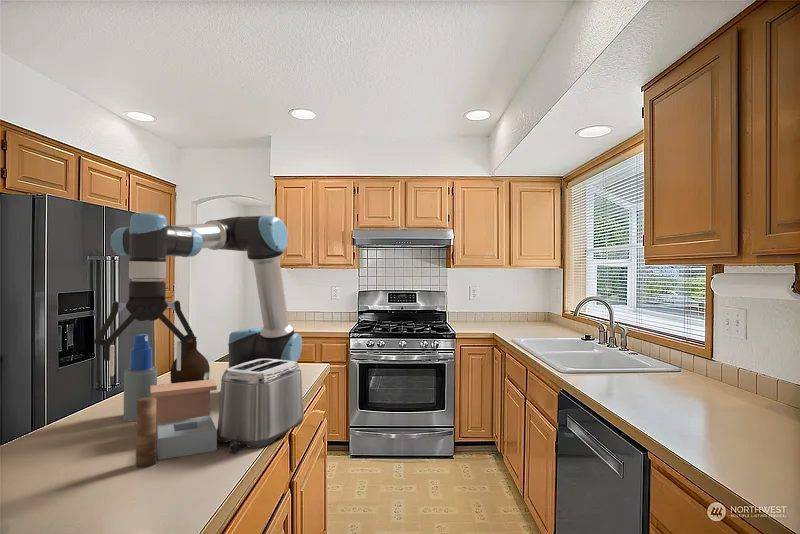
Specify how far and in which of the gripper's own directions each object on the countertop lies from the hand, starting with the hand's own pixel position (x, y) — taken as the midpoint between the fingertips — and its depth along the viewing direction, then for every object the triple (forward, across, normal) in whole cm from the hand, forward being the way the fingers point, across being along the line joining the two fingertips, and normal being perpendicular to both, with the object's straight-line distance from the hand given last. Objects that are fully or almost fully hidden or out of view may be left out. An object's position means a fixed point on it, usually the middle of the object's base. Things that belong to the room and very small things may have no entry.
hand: (146, 372), depth 108 cm
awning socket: (+21, -9, -12) cm, 26 cm away
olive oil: (+21, -12, -29) cm, 38 cm away
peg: (+21, 0, 0) cm, 21 cm away
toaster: (+21, -28, -8) cm, 36 cm away
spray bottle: (+21, +1, -41) cm, 46 cm away
